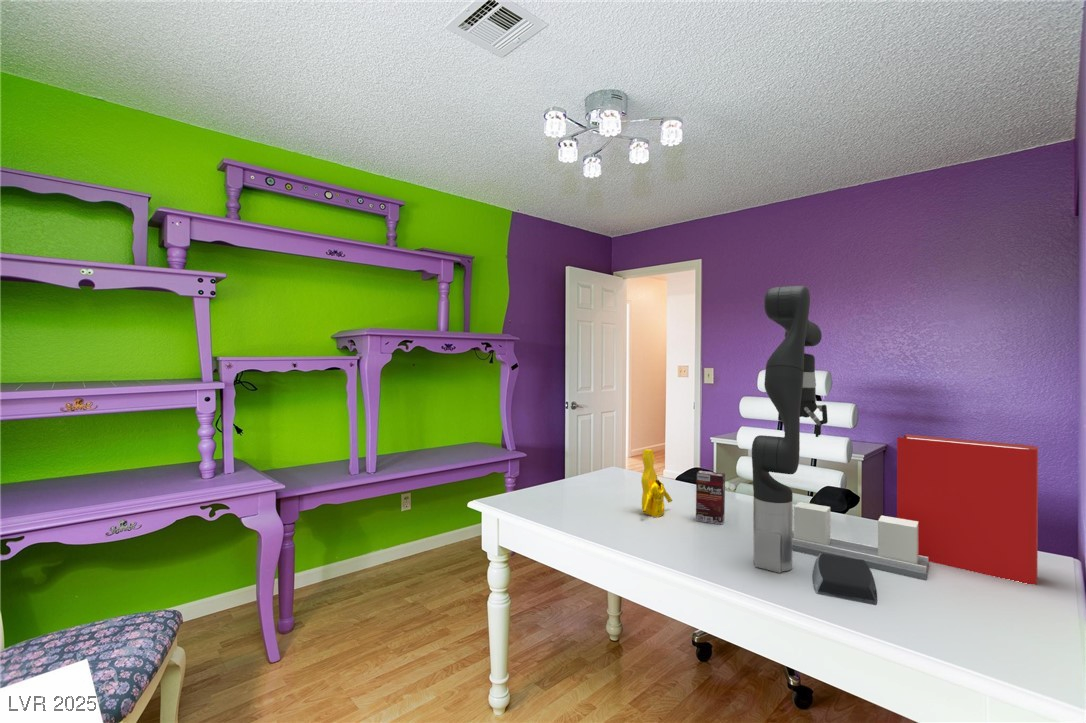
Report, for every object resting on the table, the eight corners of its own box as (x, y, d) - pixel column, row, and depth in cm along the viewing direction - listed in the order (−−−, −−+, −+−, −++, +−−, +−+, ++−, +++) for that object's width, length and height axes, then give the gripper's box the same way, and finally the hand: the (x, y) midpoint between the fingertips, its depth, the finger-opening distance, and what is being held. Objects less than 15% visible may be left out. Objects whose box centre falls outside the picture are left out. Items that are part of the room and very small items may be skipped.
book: (896, 554, 139) (897, 437, 138) (903, 546, 144) (903, 434, 144) (1036, 586, 119) (1036, 450, 119) (1037, 576, 124) (1038, 446, 124)
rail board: (925, 580, 122) (925, 532, 122) (783, 548, 143) (783, 507, 143) (928, 564, 131) (928, 520, 131) (794, 536, 152) (794, 498, 152)
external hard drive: (812, 595, 116) (812, 577, 116) (812, 564, 133) (812, 549, 133) (880, 608, 109) (880, 589, 109) (871, 574, 126) (871, 558, 126)
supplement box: (695, 521, 166) (695, 473, 166) (698, 517, 171) (698, 470, 170) (723, 525, 162) (723, 475, 162) (725, 521, 167) (725, 472, 166)
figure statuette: (649, 522, 165) (649, 455, 165) (629, 517, 171) (629, 452, 170) (676, 510, 178) (677, 448, 178) (657, 506, 183) (657, 445, 183)
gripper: (777, 385, 166) (776, 435, 166) (826, 387, 159) (826, 439, 159) (780, 385, 173) (780, 432, 173) (828, 386, 165) (828, 436, 165)
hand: (802, 435), depth 166 cm, fingers open, 8 cm apart
